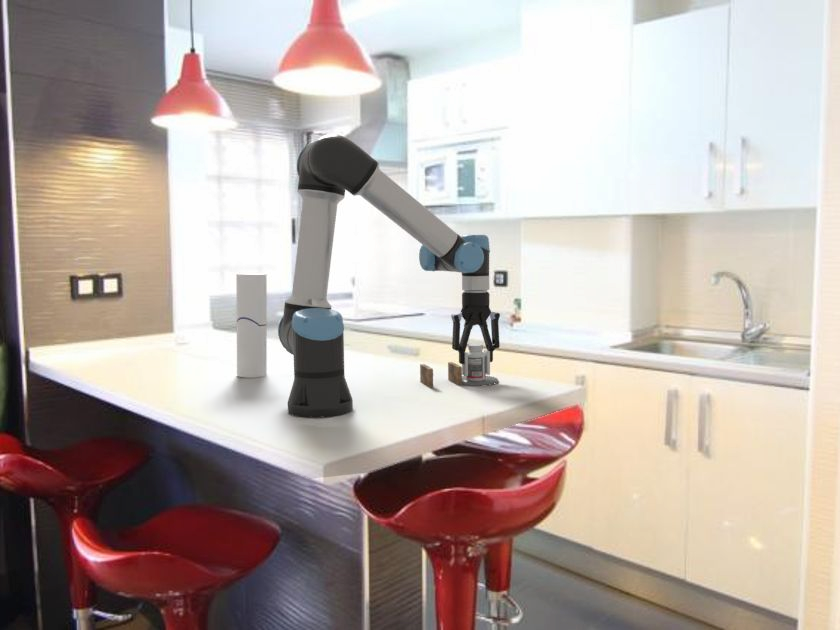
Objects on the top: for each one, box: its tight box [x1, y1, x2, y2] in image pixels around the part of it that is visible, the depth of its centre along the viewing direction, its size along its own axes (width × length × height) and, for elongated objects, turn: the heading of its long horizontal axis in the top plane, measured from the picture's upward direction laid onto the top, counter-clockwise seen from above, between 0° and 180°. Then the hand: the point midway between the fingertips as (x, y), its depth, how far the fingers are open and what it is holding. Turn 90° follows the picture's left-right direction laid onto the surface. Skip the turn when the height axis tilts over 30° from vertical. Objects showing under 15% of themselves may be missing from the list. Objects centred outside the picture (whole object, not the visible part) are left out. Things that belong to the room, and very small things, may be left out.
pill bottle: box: [466, 343, 487, 381], centre depth 194 cm, size 5×5×10 cm
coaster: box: [461, 375, 499, 387], centre depth 194 cm, size 12×12×1 cm
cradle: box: [419, 361, 463, 389], centre depth 192 cm, size 8×9×5 cm
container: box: [236, 272, 268, 379], centre depth 207 cm, size 9×9×30 cm
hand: (476, 374), depth 194 cm, fingers open, 6 cm apart
